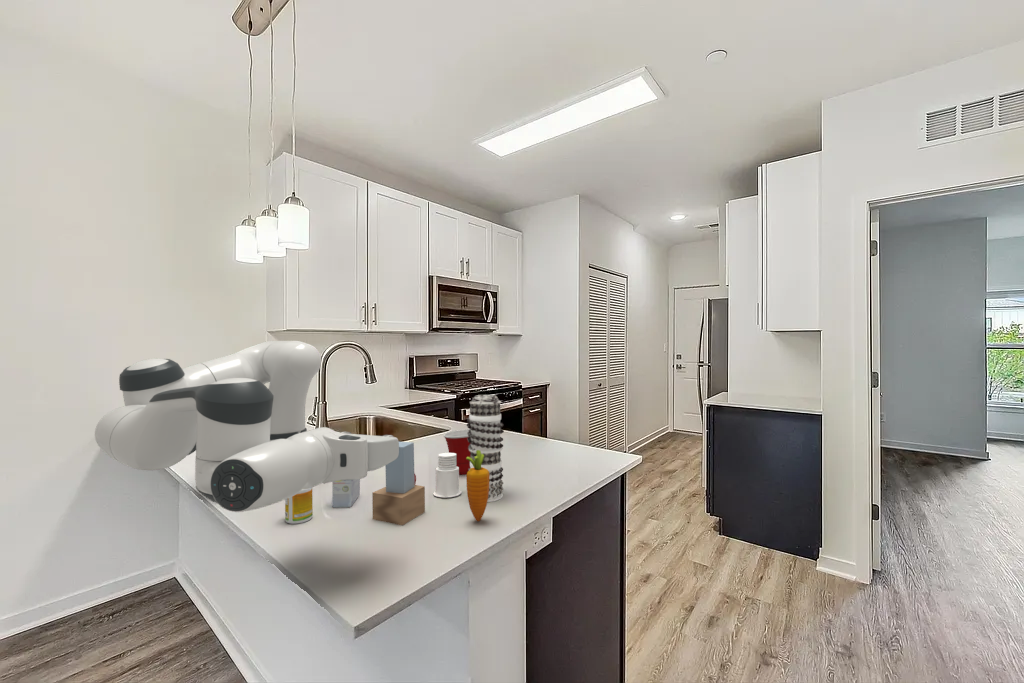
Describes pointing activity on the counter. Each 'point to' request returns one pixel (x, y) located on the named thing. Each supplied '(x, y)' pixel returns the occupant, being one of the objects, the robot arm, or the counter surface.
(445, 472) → the downlight
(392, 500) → the walnut block
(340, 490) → the medicine box
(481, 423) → the decorative candle
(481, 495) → the carrot
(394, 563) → the counter surface
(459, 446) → the plastic cup
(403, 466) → the slate pillar
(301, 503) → the supplement bottle
